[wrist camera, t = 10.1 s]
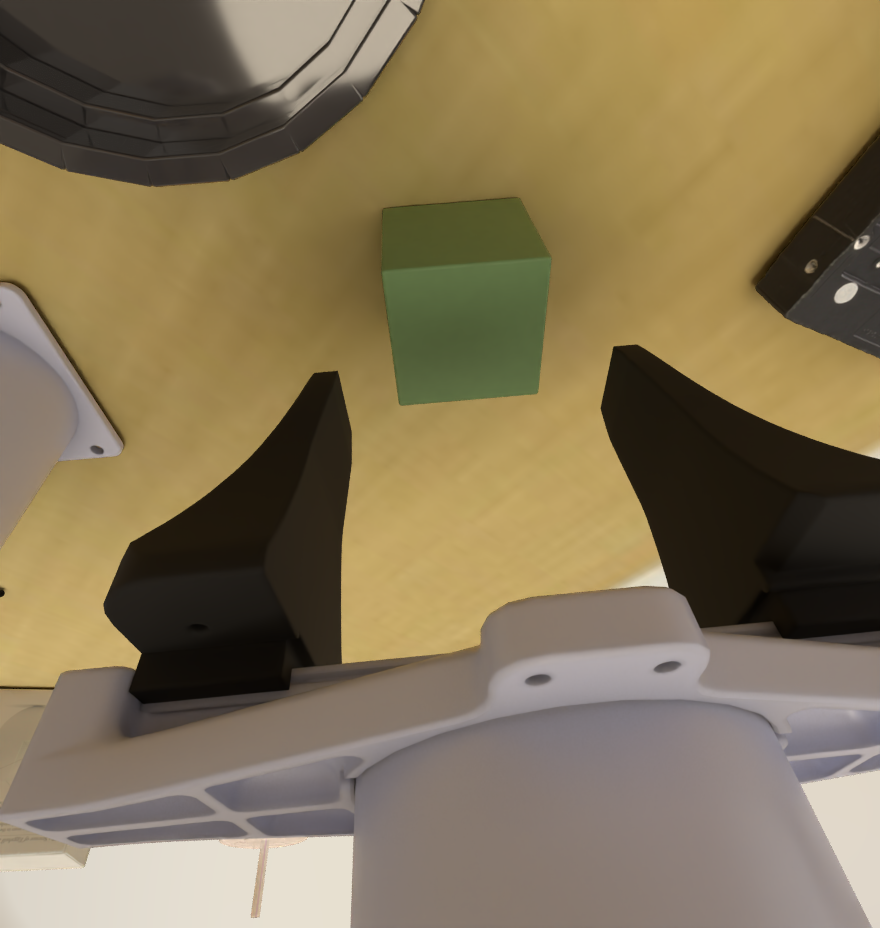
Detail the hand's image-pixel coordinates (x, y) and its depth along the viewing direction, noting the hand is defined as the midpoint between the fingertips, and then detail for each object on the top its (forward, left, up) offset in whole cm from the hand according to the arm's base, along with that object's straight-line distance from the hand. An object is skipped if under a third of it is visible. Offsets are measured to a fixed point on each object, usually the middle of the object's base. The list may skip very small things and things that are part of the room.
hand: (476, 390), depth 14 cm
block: (0, 0, -7) cm, 7 cm away
